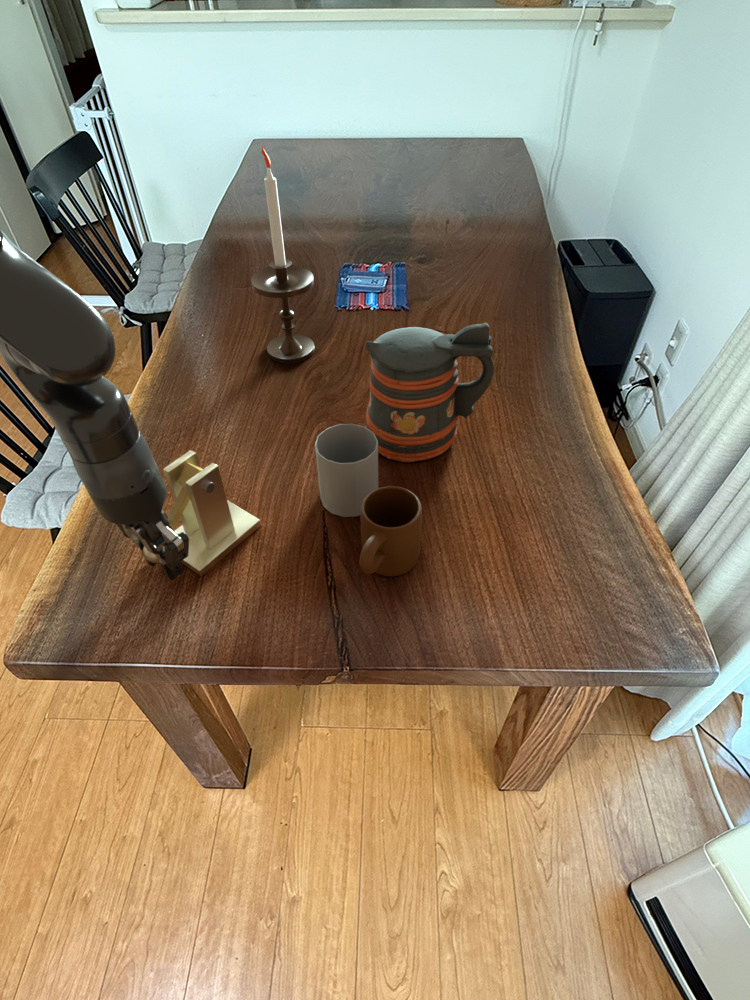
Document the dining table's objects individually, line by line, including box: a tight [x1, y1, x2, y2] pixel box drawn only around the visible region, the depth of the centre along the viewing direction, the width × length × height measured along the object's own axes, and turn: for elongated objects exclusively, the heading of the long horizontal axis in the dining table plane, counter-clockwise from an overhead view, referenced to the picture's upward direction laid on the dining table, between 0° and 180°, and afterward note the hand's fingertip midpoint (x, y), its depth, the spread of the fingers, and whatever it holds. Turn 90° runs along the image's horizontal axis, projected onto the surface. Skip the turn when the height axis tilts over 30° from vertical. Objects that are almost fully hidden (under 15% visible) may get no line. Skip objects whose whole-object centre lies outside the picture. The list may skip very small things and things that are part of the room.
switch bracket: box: [162, 449, 262, 577], centre depth 77 cm, size 11×8×13 cm
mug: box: [359, 485, 423, 577], centre depth 74 cm, size 12×8×9 cm, turn 156°
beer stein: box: [364, 322, 495, 463], centre depth 90 cm, size 19×15×20 cm
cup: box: [314, 423, 379, 518], centre depth 83 cm, size 8×8×10 cm
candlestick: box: [250, 145, 316, 364], centre depth 102 cm, size 11×11×35 cm
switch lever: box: [142, 463, 204, 564], centre depth 74 cm, size 13×3×3 cm
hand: (166, 567), depth 76 cm, fingers closed on switch lever, 3 cm apart
